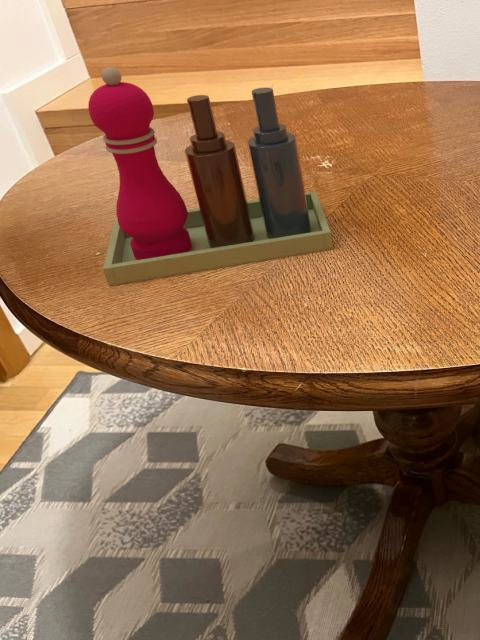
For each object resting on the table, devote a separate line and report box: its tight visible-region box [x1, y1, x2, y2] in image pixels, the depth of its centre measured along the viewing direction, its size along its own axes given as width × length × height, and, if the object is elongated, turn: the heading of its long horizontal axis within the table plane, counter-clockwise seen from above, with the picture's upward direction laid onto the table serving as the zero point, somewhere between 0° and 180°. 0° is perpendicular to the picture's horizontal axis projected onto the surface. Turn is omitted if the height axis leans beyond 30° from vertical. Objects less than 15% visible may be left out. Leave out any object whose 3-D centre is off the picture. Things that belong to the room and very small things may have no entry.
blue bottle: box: [246, 87, 311, 239], centre depth 81 cm, size 5×5×16 cm
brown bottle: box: [184, 94, 255, 248], centre depth 80 cm, size 5×5×16 cm
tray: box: [102, 190, 334, 287], centre depth 83 cm, size 24×13×2 cm, turn 107°
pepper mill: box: [87, 66, 192, 260], centre depth 77 cm, size 7×7×20 cm
